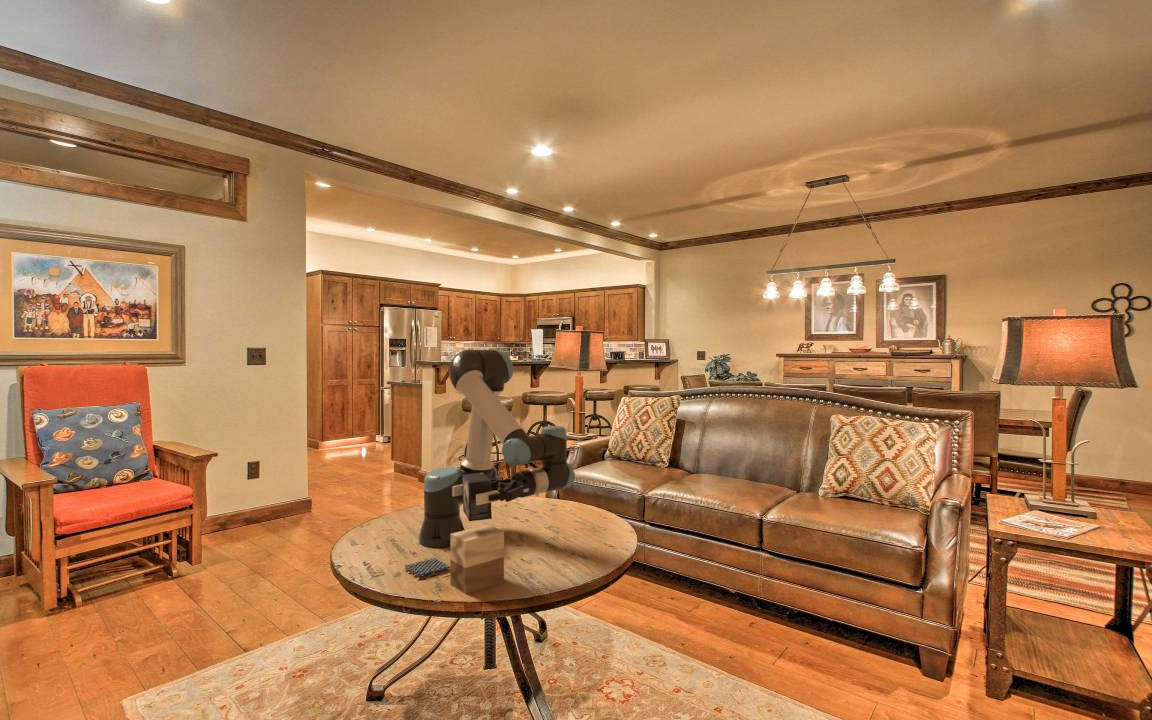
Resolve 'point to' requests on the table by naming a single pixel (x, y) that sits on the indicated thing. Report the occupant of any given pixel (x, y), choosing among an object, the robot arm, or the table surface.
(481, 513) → the small box
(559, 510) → the table surface
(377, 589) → the table surface
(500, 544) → the tower top
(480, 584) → the tower base
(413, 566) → the woven mat
